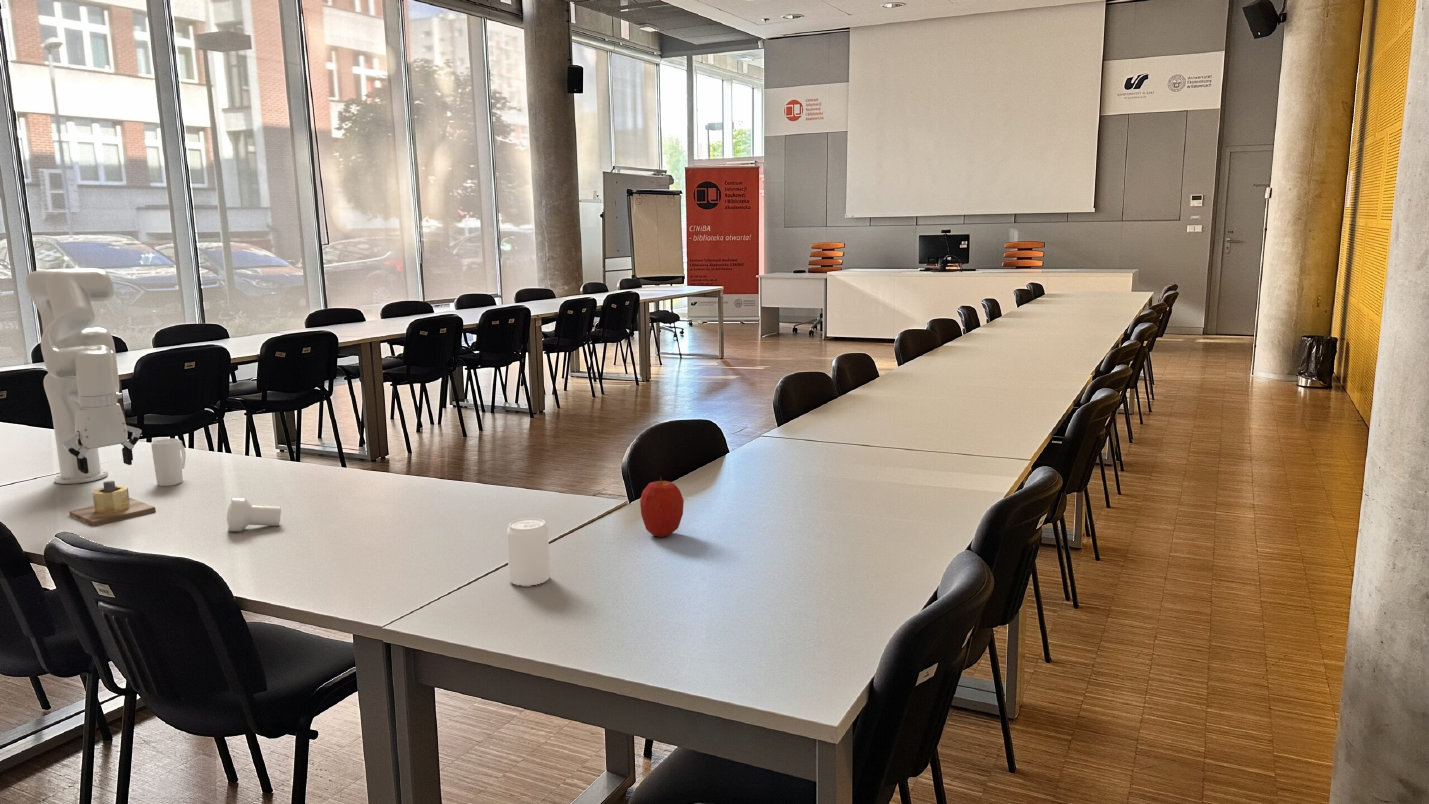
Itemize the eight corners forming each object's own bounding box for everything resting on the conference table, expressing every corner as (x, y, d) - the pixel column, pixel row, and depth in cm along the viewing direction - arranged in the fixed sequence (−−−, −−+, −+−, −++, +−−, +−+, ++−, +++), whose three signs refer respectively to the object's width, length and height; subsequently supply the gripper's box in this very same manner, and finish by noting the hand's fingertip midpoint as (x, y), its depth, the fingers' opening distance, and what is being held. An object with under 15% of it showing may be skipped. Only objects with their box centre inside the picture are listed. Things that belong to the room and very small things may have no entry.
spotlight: (225, 521, 221) (229, 490, 219) (277, 523, 226) (282, 493, 224) (224, 537, 214) (229, 505, 212) (278, 539, 219) (283, 508, 217)
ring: (90, 510, 230) (87, 490, 229) (122, 503, 236) (119, 484, 235) (102, 515, 226) (100, 495, 225) (134, 508, 232) (132, 488, 231)
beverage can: (511, 573, 190) (509, 517, 188) (551, 572, 190) (549, 516, 188) (506, 589, 182) (503, 530, 180) (548, 587, 183) (545, 529, 180)
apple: (667, 545, 206) (666, 485, 204) (631, 537, 211) (629, 478, 209) (692, 532, 215) (692, 474, 212) (657, 525, 220) (656, 468, 217)
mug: (171, 486, 255) (166, 444, 253) (150, 485, 256) (145, 443, 254) (198, 477, 264) (193, 436, 262) (177, 476, 266) (172, 435, 263)
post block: (69, 515, 230) (65, 483, 228) (131, 502, 241) (127, 471, 239) (93, 526, 221) (88, 493, 220) (155, 511, 232) (152, 480, 231)
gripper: (129, 393, 235) (137, 458, 238) (50, 404, 221) (60, 473, 225) (143, 397, 230) (150, 463, 234) (63, 409, 217) (73, 479, 220)
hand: (106, 468), depth 229 cm, fingers open, 9 cm apart
